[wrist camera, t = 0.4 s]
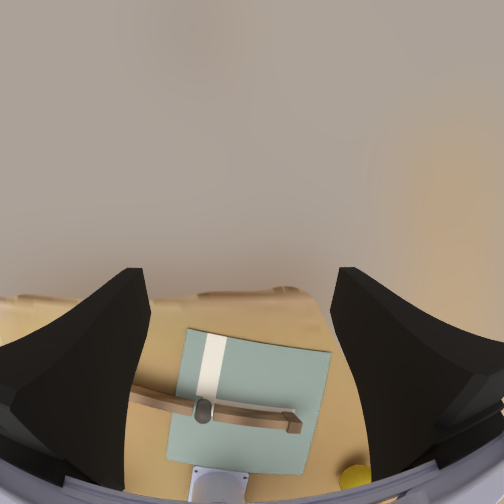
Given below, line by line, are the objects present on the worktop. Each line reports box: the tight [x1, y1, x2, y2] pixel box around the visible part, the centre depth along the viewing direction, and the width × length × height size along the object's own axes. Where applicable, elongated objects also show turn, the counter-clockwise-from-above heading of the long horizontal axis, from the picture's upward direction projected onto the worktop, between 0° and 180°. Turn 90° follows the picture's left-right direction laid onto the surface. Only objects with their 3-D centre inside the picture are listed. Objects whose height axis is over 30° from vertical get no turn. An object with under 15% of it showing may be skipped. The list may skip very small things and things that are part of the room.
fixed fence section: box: [194, 399, 303, 434], centre depth 32 cm, size 13×2×5 cm, turn 79°
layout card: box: [166, 329, 331, 475], centre depth 34 cm, size 20×20×1 cm
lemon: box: [339, 464, 371, 490], centre depth 29 cm, size 6×6×8 cm
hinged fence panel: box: [129, 384, 195, 417], centre depth 30 cm, size 11×2×4 cm, turn 79°
